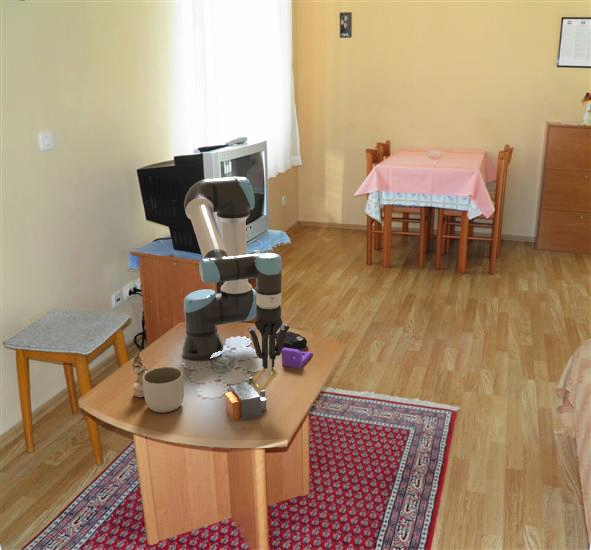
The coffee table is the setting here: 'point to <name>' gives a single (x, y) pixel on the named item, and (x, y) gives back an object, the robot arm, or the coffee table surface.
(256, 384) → the keeper
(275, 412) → the coffee table surface
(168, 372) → the planter
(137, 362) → the figurine
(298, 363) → the bracket
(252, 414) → the block
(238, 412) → the orange drawer
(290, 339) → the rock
